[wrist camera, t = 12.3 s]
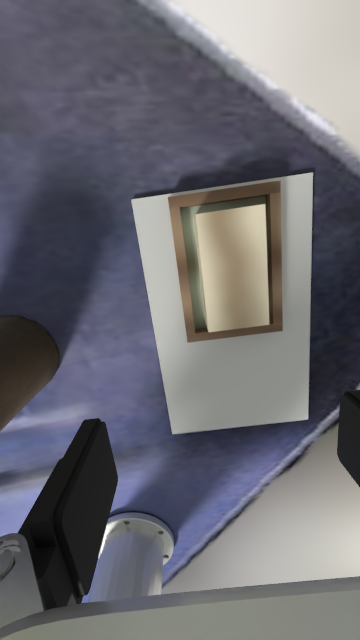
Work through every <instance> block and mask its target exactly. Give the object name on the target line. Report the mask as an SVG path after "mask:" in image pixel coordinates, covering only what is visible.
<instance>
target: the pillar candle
mask: <svg viewBox="0 0 360 640" xmlns="http://www.w3.org/2000/svg"><path fill="white" fill-rule="evenodd" d="M58 363H59V355H58V349H57V345H56V344H55V342H54V340H53V338H52V337H51V336H50V334H49V333H48V332H47V331H46V330H45V329H44V328H43V327H42V326H40V325H39V324H38V323H36V322H34V321H31V320H29V319H26V318H23V317H19V316H5V317H1V318H0V431H1V430H2V429H3V428H4V427H5V426H6V425H7V424H8V423H9V422H10V421H11V420H12V419H13V418H14V417H15V416H16V415H17V414H18V413H19V412H20V411H21V410H22V409H23V408H24V407H25V406H26V405H27V403H28V402H29V401H30V400H31V399H32V398H33V397H34V396H35V395H36V394H37V393H38V392H39V391H40V390H41V389H42V388H43V387H44V386H45V385H46V384H47V383H48V382H49V381H50V380H51V379H52V378H53V376H54V375H55V373H56V370H57V367H58Z"/></svg>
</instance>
